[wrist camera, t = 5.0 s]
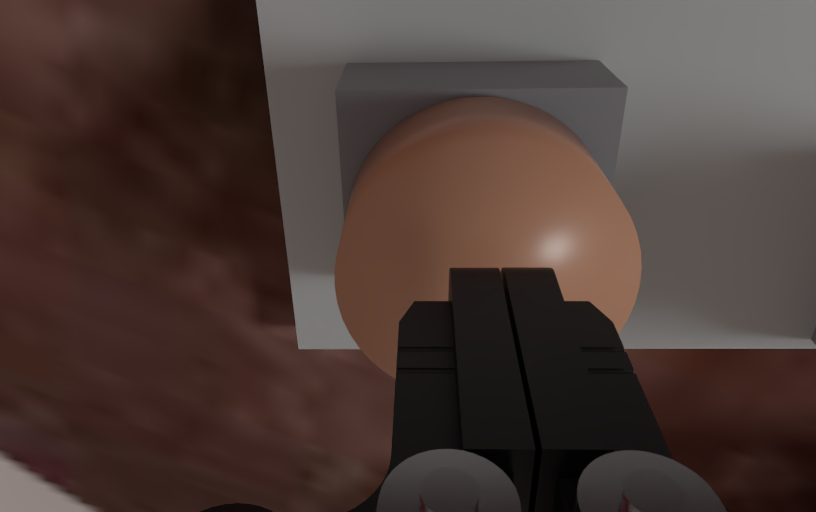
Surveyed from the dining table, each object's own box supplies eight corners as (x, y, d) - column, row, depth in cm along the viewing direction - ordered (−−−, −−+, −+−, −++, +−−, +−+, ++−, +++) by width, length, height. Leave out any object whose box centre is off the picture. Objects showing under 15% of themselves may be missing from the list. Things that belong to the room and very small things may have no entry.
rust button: (351, 69, 14) (322, 141, 10) (595, 66, 14) (667, 138, 10) (363, 276, 16) (344, 401, 12) (568, 276, 16) (617, 401, 12)
